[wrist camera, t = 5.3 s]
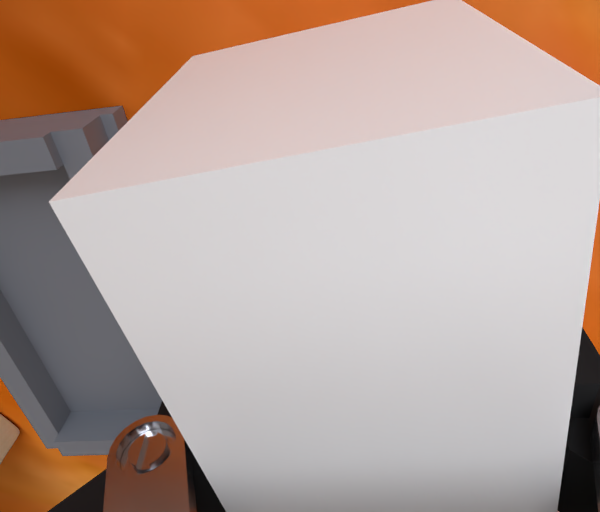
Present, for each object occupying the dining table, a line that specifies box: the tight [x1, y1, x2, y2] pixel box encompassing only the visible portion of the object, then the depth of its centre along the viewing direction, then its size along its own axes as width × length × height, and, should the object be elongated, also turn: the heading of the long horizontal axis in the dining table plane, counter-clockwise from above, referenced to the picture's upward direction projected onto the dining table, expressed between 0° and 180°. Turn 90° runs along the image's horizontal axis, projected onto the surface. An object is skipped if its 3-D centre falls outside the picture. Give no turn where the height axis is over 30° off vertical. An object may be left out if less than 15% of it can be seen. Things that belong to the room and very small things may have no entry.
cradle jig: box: [0, 106, 162, 456], centre depth 23 cm, size 17×10×3 cm, turn 8°
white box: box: [49, 0, 600, 512], centre depth 10 cm, size 12×5×7 cm, turn 12°
